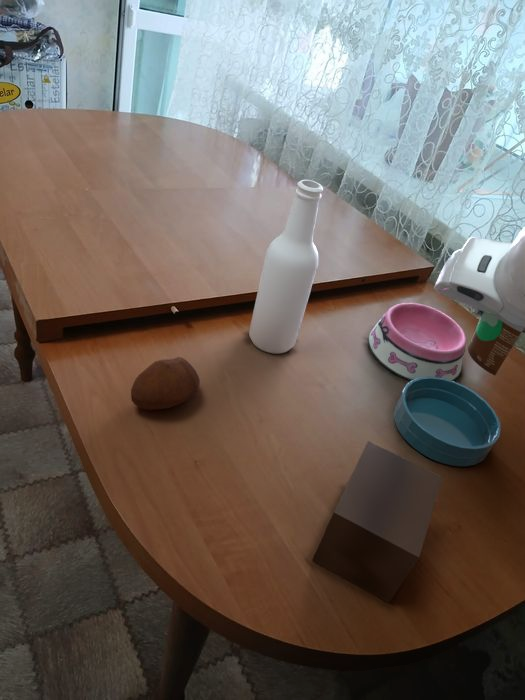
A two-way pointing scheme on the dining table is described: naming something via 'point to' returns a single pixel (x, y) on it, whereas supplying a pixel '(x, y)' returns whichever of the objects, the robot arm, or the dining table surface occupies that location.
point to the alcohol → (287, 275)
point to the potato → (165, 384)
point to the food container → (493, 341)
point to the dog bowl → (418, 342)
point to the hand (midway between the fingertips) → (502, 318)
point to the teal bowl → (446, 421)
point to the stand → (379, 522)
